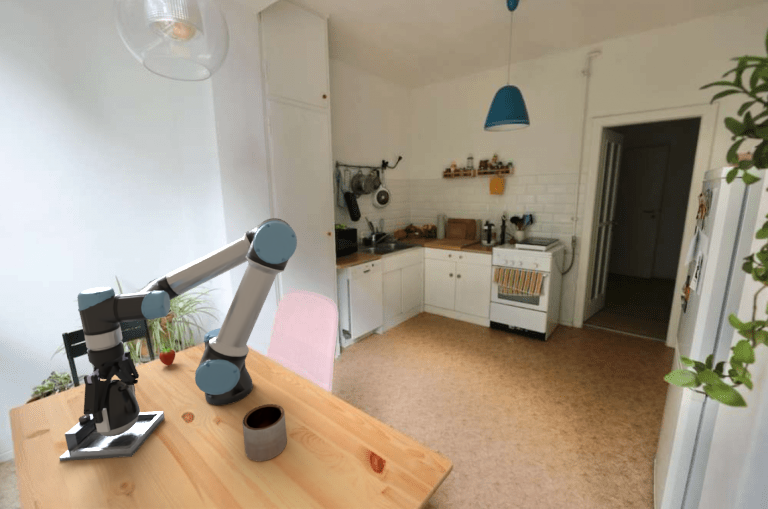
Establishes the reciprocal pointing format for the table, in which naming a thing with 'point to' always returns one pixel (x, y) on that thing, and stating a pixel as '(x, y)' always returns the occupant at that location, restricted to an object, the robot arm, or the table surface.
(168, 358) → the fruit
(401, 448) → the table surface
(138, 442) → the tray unit
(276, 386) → the table surface
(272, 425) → the planter
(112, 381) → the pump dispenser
